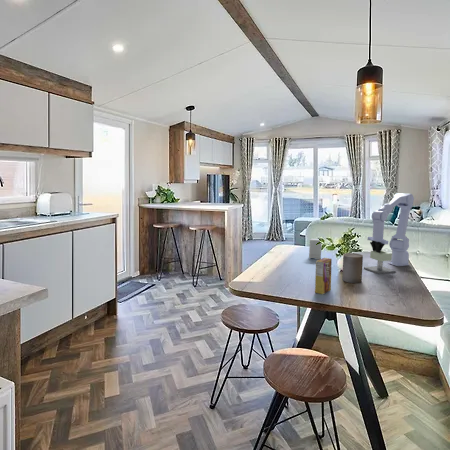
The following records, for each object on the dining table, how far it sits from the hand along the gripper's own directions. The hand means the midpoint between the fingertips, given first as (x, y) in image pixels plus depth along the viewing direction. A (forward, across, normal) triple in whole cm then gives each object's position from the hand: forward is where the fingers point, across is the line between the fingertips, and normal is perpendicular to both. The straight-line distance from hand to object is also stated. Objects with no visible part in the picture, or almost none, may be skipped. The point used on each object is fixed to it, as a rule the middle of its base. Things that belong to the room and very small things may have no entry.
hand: (376, 254), depth 212 cm
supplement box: (+9, -36, -18) cm, 41 cm away
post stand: (+9, +3, 0) cm, 9 cm away
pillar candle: (+9, +15, -29) cm, 34 cm away
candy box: (+9, +26, -54) cm, 61 cm away
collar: (+2, +3, 0) cm, 4 cm away
